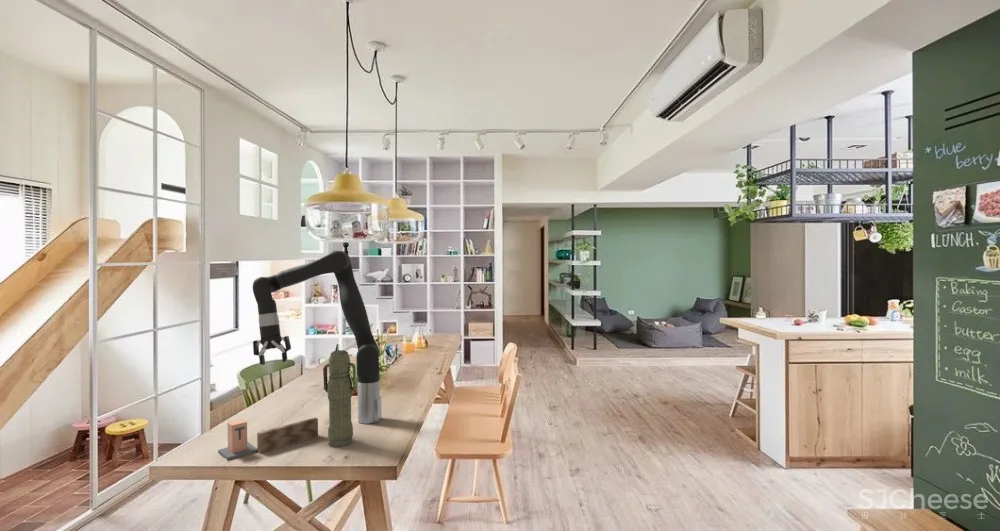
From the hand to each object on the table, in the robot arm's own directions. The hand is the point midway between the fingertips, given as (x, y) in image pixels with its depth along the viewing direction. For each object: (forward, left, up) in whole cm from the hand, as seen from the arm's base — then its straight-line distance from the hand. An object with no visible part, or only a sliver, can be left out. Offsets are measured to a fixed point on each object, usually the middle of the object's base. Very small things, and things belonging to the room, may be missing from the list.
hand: (274, 363), depth 197 cm
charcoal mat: (+2, +25, -27) cm, 37 cm away
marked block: (+2, +25, -26) cm, 36 cm away
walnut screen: (-14, +17, -27) cm, 35 cm away
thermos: (-33, +17, -27) cm, 46 cm away
